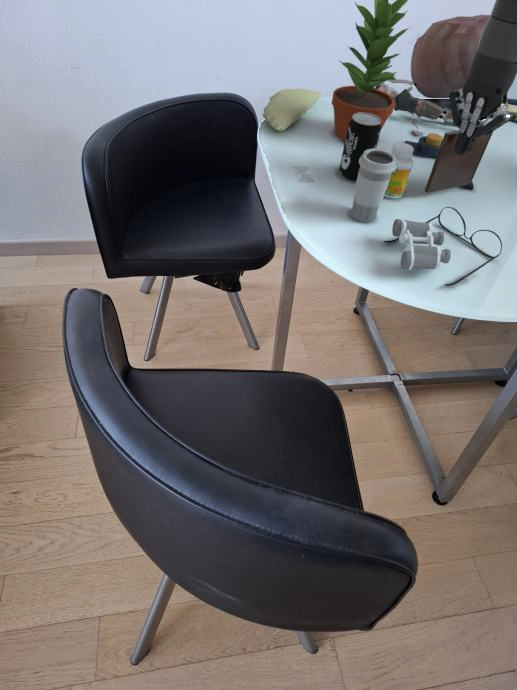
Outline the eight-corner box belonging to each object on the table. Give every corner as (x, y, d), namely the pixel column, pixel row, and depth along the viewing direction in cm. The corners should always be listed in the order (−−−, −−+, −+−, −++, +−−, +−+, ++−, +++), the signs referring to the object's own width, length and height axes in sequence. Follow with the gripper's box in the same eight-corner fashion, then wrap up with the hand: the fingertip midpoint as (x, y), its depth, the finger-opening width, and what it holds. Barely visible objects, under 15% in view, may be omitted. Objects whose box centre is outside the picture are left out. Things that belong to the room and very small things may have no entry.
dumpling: (320, 103, 132) (287, 91, 134) (324, 86, 129) (290, 74, 131) (280, 139, 116) (243, 126, 118) (284, 121, 112) (245, 107, 114)
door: (469, 184, 104) (493, 127, 95) (427, 193, 100) (448, 134, 91) (465, 182, 104) (489, 125, 96) (424, 191, 100) (444, 132, 91)
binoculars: (391, 229, 88) (396, 212, 86) (434, 232, 89) (441, 215, 86) (402, 273, 81) (408, 256, 78) (450, 276, 81) (458, 259, 78)
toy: (495, 82, 122) (376, 66, 124) (489, 141, 119) (367, 123, 121) (480, 105, 131) (369, 90, 133) (474, 160, 128) (360, 144, 130)
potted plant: (356, 155, 112) (393, -2, 90) (314, 129, 120) (338, -21, 98) (400, 142, 119) (444, -7, 97) (357, 118, 126) (389, -24, 105)
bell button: (439, 141, 116) (442, 134, 115) (440, 148, 114) (443, 140, 112) (424, 139, 116) (427, 131, 115) (425, 145, 114) (427, 138, 113)
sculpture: (550, -4, 114) (503, 29, 142) (428, 0, 116) (406, 32, 144) (534, 89, 120) (492, 103, 148) (419, 90, 123) (399, 104, 151)
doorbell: (453, 150, 118) (457, 140, 116) (455, 162, 114) (459, 152, 112) (404, 142, 119) (407, 132, 117) (404, 154, 115) (407, 143, 113)
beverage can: (364, 185, 103) (379, 128, 94) (335, 177, 104) (346, 120, 95) (371, 172, 107) (386, 116, 98) (342, 164, 108) (354, 108, 100)
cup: (348, 202, 97) (363, 144, 88) (381, 210, 96) (399, 151, 88) (343, 221, 92) (358, 161, 84) (378, 229, 92) (396, 169, 83)
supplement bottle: (375, 195, 100) (388, 149, 93) (378, 183, 104) (391, 138, 97) (401, 201, 99) (416, 155, 92) (403, 189, 103) (418, 144, 96)
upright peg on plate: (471, 185, 107) (499, 120, 97) (472, 190, 105) (501, 124, 95) (460, 183, 107) (487, 118, 97) (461, 188, 105) (488, 122, 95)
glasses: (443, 200, 91) (436, 222, 95) (384, 233, 86) (380, 254, 90) (508, 239, 83) (498, 261, 87) (448, 277, 78) (440, 299, 82)
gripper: (455, 40, 82) (421, 142, 95) (519, 66, 75) (474, 173, 87) (484, 37, 85) (448, 136, 98) (549, 61, 78) (501, 165, 90)
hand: (460, 153), depth 92 cm, fingers closed
